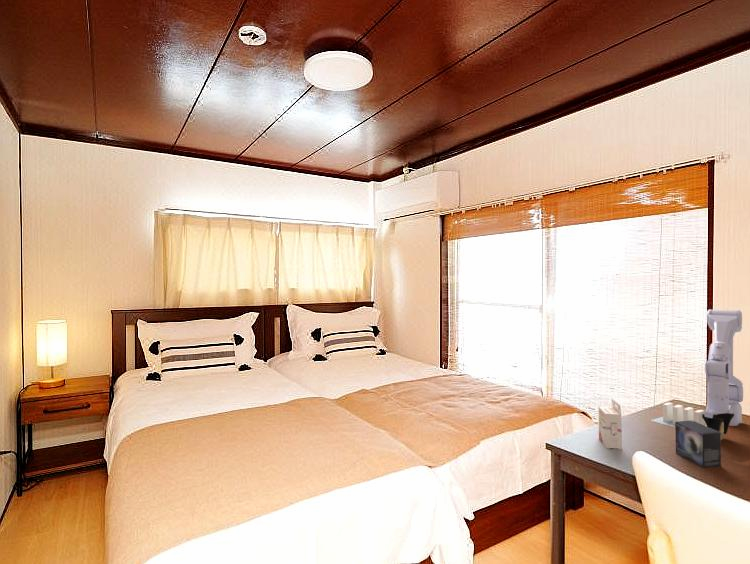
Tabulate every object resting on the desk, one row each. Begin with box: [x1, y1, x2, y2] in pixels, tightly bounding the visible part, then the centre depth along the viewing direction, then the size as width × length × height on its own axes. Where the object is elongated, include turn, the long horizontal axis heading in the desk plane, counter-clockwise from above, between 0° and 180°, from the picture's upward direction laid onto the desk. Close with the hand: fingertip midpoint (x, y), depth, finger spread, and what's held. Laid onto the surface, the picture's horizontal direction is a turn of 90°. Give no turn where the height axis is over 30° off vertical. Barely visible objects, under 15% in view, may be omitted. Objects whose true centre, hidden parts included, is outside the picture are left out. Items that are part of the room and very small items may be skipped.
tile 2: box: [694, 409, 706, 426], centre depth 153 cm, size 4×2×6 cm, turn 120°
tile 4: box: [673, 404, 684, 424], centre depth 159 cm, size 4×2×6 cm, turn 120°
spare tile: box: [719, 422, 725, 441], centre depth 143 cm, size 4×2×6 cm, turn 120°
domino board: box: [649, 415, 707, 428], centre depth 157 cm, size 12×20×1 cm, turn 30°
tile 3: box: [683, 406, 695, 421], centre depth 156 cm, size 4×2×6 cm, turn 120°
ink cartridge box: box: [598, 398, 623, 450], centre depth 143 cm, size 9×5×15 cm, turn 168°
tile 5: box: [662, 402, 674, 422], centre depth 162 cm, size 4×2×6 cm, turn 120°
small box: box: [674, 421, 722, 468], centre depth 130 cm, size 11×6×10 cm, turn 5°
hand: (718, 434), depth 143 cm, fingers open, 6 cm apart
